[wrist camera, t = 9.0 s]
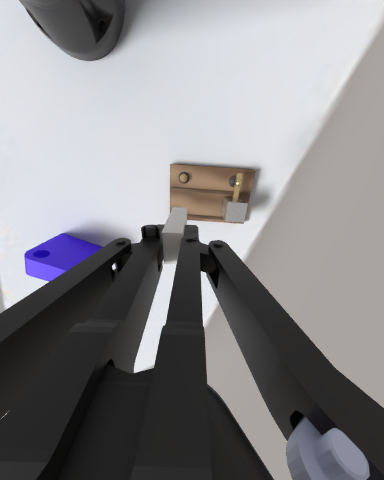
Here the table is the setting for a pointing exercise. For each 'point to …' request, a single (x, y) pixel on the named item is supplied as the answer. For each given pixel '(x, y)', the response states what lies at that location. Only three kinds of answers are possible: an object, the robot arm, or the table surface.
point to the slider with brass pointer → (235, 204)
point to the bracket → (57, 256)
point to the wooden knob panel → (206, 190)
